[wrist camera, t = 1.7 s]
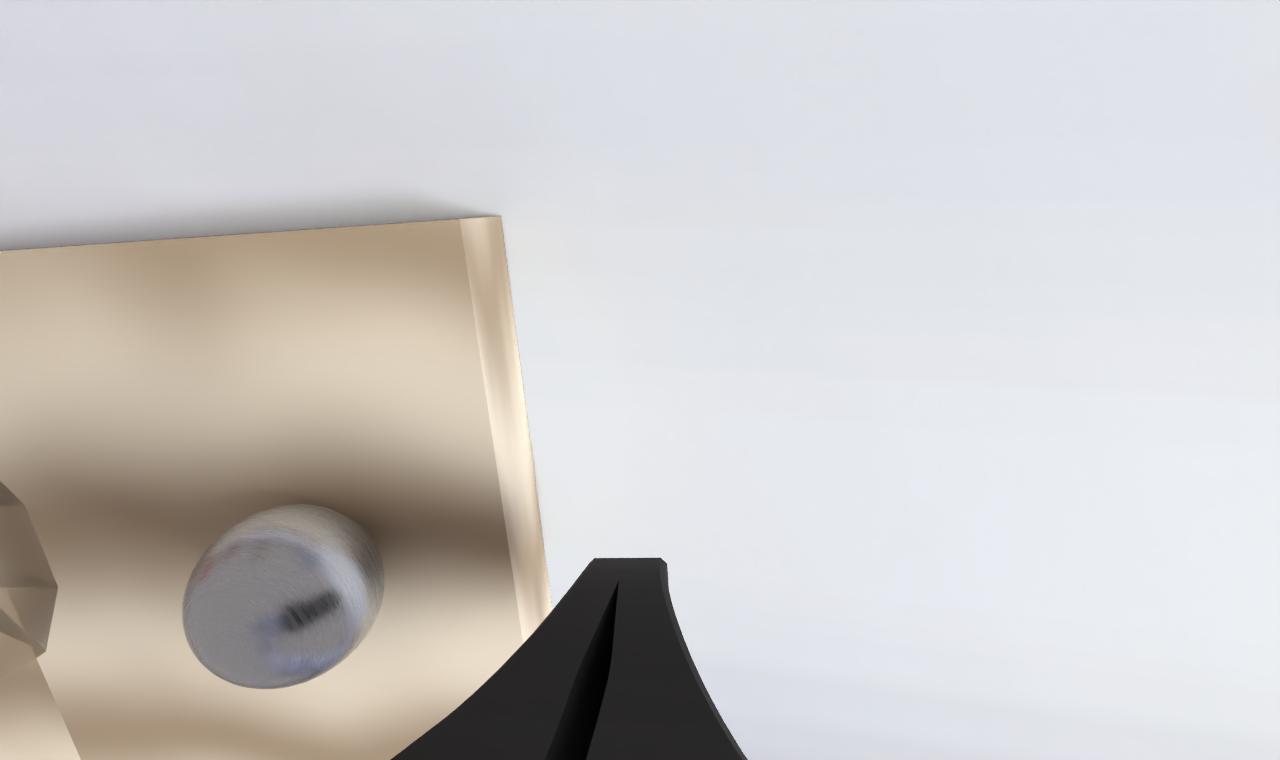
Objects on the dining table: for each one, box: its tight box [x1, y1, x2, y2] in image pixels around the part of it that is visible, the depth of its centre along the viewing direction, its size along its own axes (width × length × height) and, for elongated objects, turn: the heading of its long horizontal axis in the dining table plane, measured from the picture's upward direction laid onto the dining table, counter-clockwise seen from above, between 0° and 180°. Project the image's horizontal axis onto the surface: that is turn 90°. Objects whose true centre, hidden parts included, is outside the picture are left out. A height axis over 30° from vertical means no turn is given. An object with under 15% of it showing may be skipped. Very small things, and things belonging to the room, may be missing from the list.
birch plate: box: [0, 216, 552, 760], centre depth 16 cm, size 14×22×2 cm, turn 94°
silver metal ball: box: [182, 504, 384, 689], centre depth 12 cm, size 4×4×4 cm
